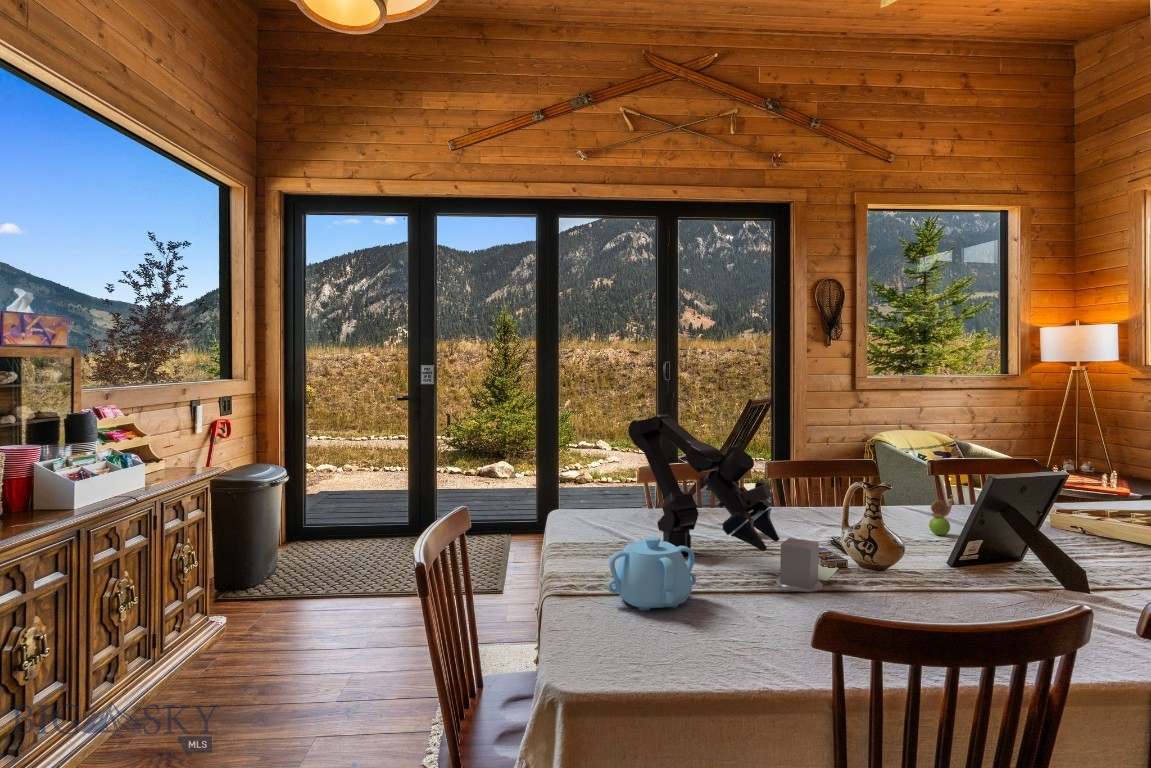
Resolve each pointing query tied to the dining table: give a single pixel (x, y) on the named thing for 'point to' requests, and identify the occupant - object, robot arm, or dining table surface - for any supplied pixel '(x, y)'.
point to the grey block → (799, 563)
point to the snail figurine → (940, 517)
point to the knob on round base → (814, 588)
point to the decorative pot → (652, 574)
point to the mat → (825, 572)
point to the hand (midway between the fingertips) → (771, 545)
